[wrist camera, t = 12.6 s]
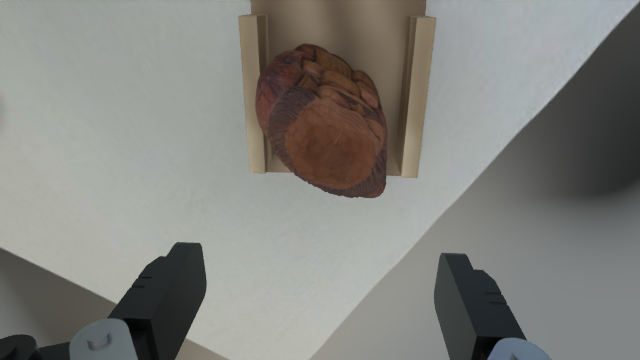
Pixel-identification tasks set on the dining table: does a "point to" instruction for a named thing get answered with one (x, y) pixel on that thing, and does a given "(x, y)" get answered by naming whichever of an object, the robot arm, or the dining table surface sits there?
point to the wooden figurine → (324, 121)
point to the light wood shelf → (358, 51)
